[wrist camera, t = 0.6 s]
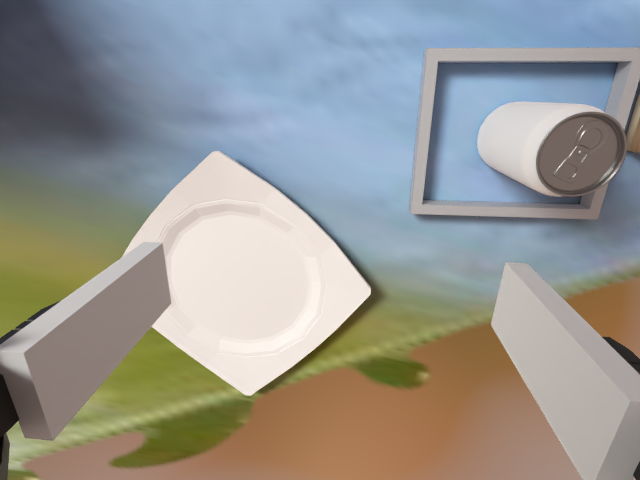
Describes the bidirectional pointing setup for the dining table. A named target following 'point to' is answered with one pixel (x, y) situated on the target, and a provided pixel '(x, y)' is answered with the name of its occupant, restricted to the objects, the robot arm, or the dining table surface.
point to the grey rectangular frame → (621, 94)
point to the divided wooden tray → (634, 129)
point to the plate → (247, 274)
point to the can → (553, 146)
